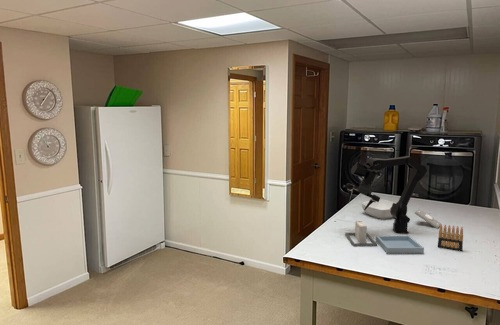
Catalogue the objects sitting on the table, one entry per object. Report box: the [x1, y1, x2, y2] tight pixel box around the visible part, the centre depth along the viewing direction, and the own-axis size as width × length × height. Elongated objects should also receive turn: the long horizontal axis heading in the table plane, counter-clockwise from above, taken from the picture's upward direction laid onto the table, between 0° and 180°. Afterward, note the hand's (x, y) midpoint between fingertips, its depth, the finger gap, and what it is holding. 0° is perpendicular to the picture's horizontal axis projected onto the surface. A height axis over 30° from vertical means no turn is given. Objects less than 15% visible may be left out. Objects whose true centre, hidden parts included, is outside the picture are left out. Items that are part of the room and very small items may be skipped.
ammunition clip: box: [437, 223, 464, 252], centre depth 181 cm, size 11×2×12 cm, turn 58°
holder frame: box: [344, 232, 378, 247], centre depth 194 cm, size 12×17×1 cm
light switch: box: [414, 208, 442, 229], centre depth 219 cm, size 8×6×14 cm
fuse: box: [354, 220, 368, 243], centre depth 193 cm, size 3×9×9 cm, turn 179°
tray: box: [375, 235, 425, 255], centre depth 184 cm, size 17×17×3 cm
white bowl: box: [361, 199, 397, 220], centre depth 239 cm, size 20×20×8 cm
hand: (356, 206), depth 202 cm, fingers open, 9 cm apart
